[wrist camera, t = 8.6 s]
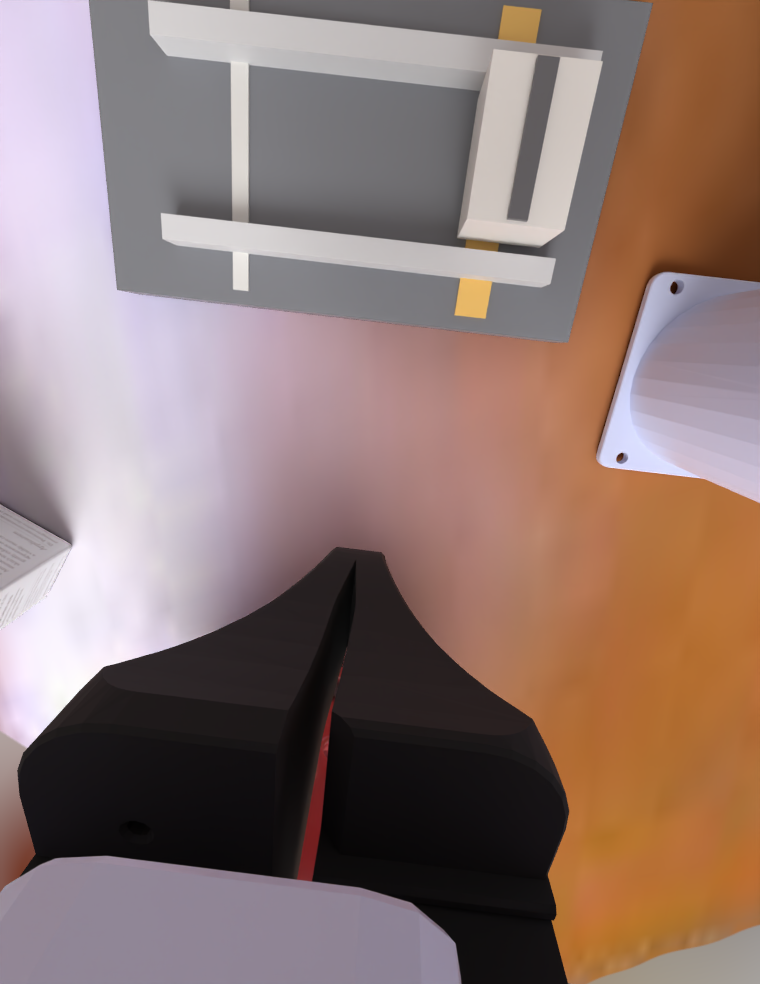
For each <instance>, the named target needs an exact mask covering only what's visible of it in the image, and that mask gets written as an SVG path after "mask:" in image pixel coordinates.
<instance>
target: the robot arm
mask: <svg viewBox="0 0 760 984" xmlns="http://www.w3.org/2000/svg"><path fill="white" fill-rule="evenodd" d="M673 282H676V283H677V285H678V289H677V291H676V293H675V294H672V293H671V291H670V286H671V284H672V283H673ZM620 453H624V457H623V458H622V460H620V461H616V457H617V455H618V454H620ZM596 458H597V461H598V462H599V463H600V464H601V465H603V466H605V467H610V468H619V469H627V470H635V471H644V472H652V473H661V474H669V475H678V476H686V477H695V478H703V479H706V480H708V481H711V482H713V483H715V484H717V485H720V486H722V487H724V488H727V489H729V490H731V491H734V492H736V493H738V494H740V495H743V496H745V497H747V498H750V499H752V500H754V501H757V502H759V503H760V282H752V281H744V280H735V279H726V278H718V277H709V276H700V275H692V274H683V273H674V272H662V273H659V274H657V275H655V276H653V277H652V278H651V279H650V280H649V282H648V284H647V286H646V290H645V293H644V297H643V300H642V303H641V307H640V310H639V313H638V317H637V320H636V323H635V327H634V330H633V333H632V337H631V340H630V343H629V347H628V350H627V354H626V357H625V360H624V364H623V367H622V370H621V374H620V377H619V380H618V384H617V387H616V390H615V394H614V397H613V400H612V404H611V407H610V411H609V414H608V417H607V421H606V424H605V427H604V431H603V434H602V437H601V441H600V444H599V447H598V451H597V455H596ZM346 649H347V651H346ZM345 652H346V656H345ZM344 656H345V660H344V665H343V669H342V673H341V677H340V681H339V685H338V689H337V693H336V697H335V701H334V704H333V708H332V713H331V723H330V734H329V745H328V756H327V767H326V778H325V789H324V800H323V810H322V821H321V829H320V835H319V841H318V847H317V853H316V859H315V865H314V872H313V878H312V882H311V881H303V880H297V877H298V871H299V866H300V860H301V854H302V848H303V843H304V837H305V831H306V826H307V820H308V814H309V809H310V803H311V797H312V792H313V786H314V781H315V775H316V770H317V764H318V759H319V753H320V748H321V742H322V737H323V733H324V729H325V725H326V721H327V717H328V713H329V710H330V706H331V703H332V699H333V695H334V692H335V688H336V685H337V681H338V678H339V674H340V670H341V667H342V663H343V659H344ZM17 771H18V782H19V793H20V798H21V802H22V806H23V809H24V813H25V816H26V820H27V823H28V827H29V831H30V834H31V838H32V842H33V845H34V849H35V853H36V855H35V856H34V857H33V859H32V860H31V861H30V863H29V864H28V866H27V867H26V869H25V870H24V871H23V873H22V874H21V875H20V877H19V878H18V879H16V880H14V881H13V882H11V883H10V884H8V885H6V886H5V887H4V889H3V890H2V891H1V893H0V984H569V983H568V982H567V978H566V975H565V971H564V967H563V963H562V959H561V956H560V952H559V948H558V944H557V940H556V937H555V933H554V929H553V925H552V921H551V920H554V919H555V917H556V904H555V900H554V897H553V893H552V889H551V886H550V882H549V879H548V872H549V870H550V867H551V865H552V862H553V860H554V857H555V855H556V852H557V850H558V847H559V845H560V842H561V840H562V837H563V835H564V832H565V830H566V825H567V820H568V815H569V808H568V803H567V798H566V793H565V791H564V788H563V785H562V782H561V780H560V777H559V774H558V772H557V769H556V767H555V764H554V762H553V760H552V758H551V755H550V753H549V751H548V749H547V747H546V745H545V743H544V741H543V739H542V737H541V735H540V733H539V731H538V729H537V727H536V725H535V723H534V721H533V719H532V718H530V717H529V716H527V715H526V714H524V713H523V712H521V711H520V710H518V709H517V708H515V707H514V706H512V705H511V704H509V703H508V702H506V701H505V700H503V699H502V698H500V697H499V696H497V695H496V694H494V693H493V692H491V691H490V690H489V689H487V688H486V687H485V686H483V685H482V684H481V683H480V682H478V681H477V680H476V679H475V678H473V677H472V676H471V675H470V674H468V673H467V672H466V671H465V670H464V669H463V668H461V667H460V666H459V665H458V664H457V663H456V662H455V661H454V660H453V659H452V658H451V657H449V656H448V655H447V654H446V653H445V652H444V651H443V650H442V649H441V648H440V647H439V646H438V645H437V644H436V643H435V641H434V640H433V639H432V638H431V637H430V636H429V635H428V633H427V632H426V631H425V630H424V628H423V627H422V626H421V624H420V623H419V622H418V620H417V619H416V618H415V616H414V615H413V613H412V612H411V610H410V609H409V607H408V606H407V604H406V602H405V601H404V599H403V597H402V596H401V594H400V592H399V590H398V588H397V586H396V584H395V582H394V580H393V578H392V576H391V574H390V571H389V569H388V566H387V563H386V560H385V556H384V555H383V554H382V553H381V552H374V551H365V550H357V549H349V548H341V547H336V548H335V549H333V550H332V551H331V552H330V553H329V554H328V555H327V556H326V557H325V558H324V559H323V560H322V561H321V562H320V563H319V564H318V565H317V566H316V567H315V568H314V569H313V570H312V571H310V572H309V573H308V574H307V575H306V576H305V577H303V578H302V579H301V580H300V581H299V582H298V583H296V584H295V585H294V586H292V587H291V588H290V589H288V590H287V591H286V592H284V593H283V594H282V595H280V596H279V597H278V598H276V599H275V600H273V601H272V602H270V603H269V604H267V605H265V606H264V607H262V608H260V609H258V610H257V611H255V612H253V613H251V614H250V615H248V616H246V617H244V618H242V619H239V620H237V621H235V622H233V623H231V624H229V625H227V626H225V627H223V628H221V629H219V630H217V631H214V632H212V633H209V634H207V635H204V636H202V637H199V638H197V639H194V640H192V641H189V642H186V643H183V644H181V645H178V646H175V647H172V648H169V649H166V650H163V651H160V652H156V653H153V654H149V655H146V656H142V657H139V658H135V659H132V660H128V661H125V662H121V663H118V664H114V665H110V666H106V667H103V668H102V669H101V670H100V671H99V672H98V673H97V674H96V675H95V676H94V677H93V678H92V679H91V680H90V681H89V682H88V683H87V684H86V685H85V686H84V687H83V688H82V689H81V690H80V691H79V692H78V693H77V694H76V695H75V697H74V698H73V699H72V700H71V701H70V702H69V703H68V704H67V705H66V707H65V708H64V709H63V710H62V711H61V712H60V713H59V714H58V715H57V716H56V718H55V719H54V720H53V721H52V722H51V723H50V724H49V725H48V726H47V727H46V729H45V730H44V731H43V732H42V733H41V734H40V735H39V736H38V737H37V739H36V740H35V741H34V742H33V743H32V744H31V745H30V746H29V747H28V748H27V749H26V751H25V752H24V753H23V756H22V758H21V761H20V764H19V767H18V770H17Z"/></svg>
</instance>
